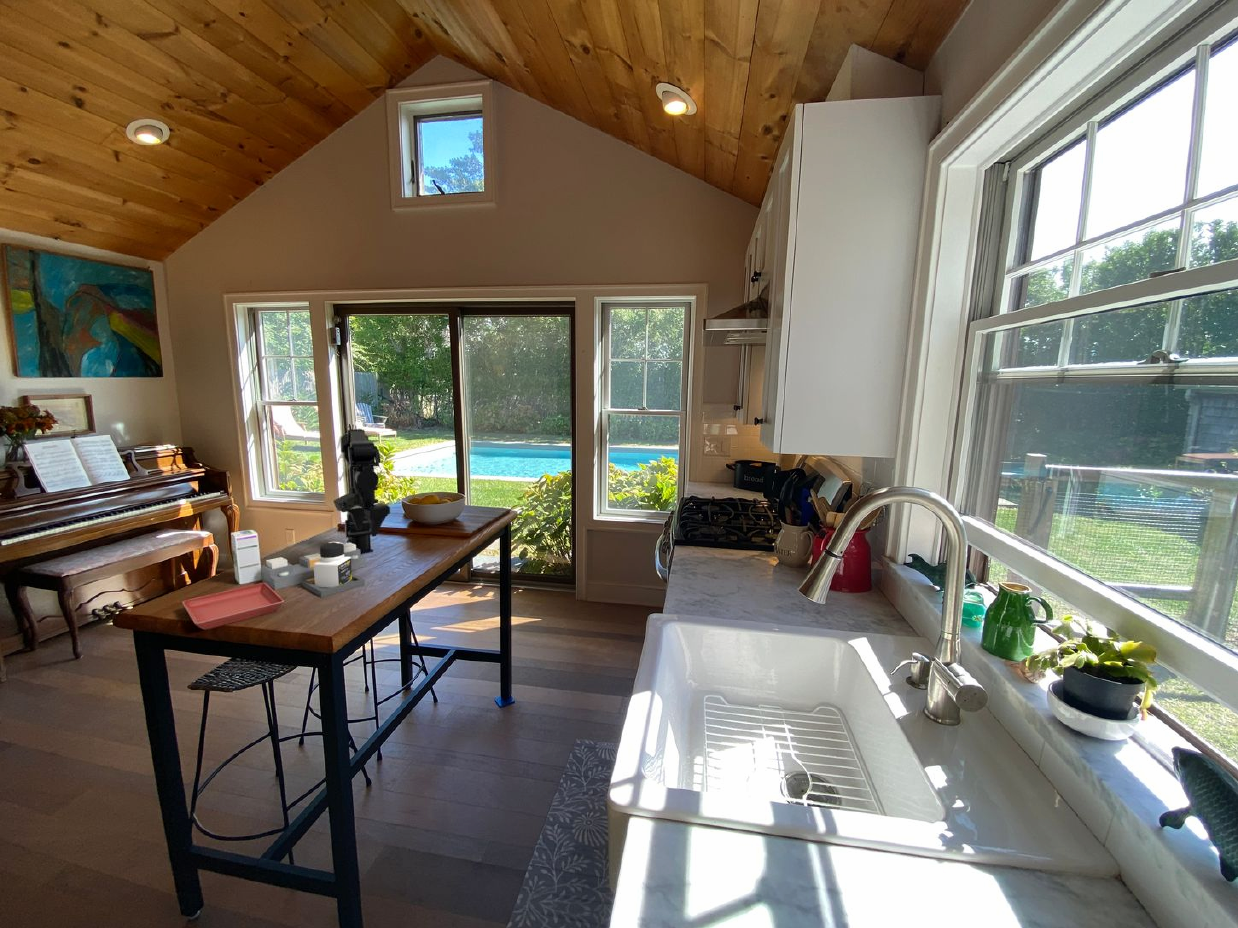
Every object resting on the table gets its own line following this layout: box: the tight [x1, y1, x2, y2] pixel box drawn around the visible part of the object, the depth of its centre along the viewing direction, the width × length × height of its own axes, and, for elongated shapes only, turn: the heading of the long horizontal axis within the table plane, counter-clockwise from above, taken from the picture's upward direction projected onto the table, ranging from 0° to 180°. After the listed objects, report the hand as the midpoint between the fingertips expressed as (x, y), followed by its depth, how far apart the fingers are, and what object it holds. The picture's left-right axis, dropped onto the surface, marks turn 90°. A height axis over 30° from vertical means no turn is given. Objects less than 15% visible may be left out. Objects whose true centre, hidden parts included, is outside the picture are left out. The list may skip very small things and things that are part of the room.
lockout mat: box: [301, 573, 366, 598], centre depth 150 cm, size 12×12×2 cm
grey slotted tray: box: [261, 548, 367, 591], centre depth 159 cm, size 26×9×5 cm, turn 143°
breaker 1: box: [265, 556, 288, 569], centre depth 152 cm, size 4×4×2 cm
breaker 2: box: [343, 542, 356, 553], centre depth 167 cm, size 4×4×2 cm
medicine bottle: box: [314, 541, 353, 588], centre depth 150 cm, size 7×7×12 cm
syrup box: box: [230, 529, 263, 585], centre depth 152 cm, size 6×6×14 cm
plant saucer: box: [181, 582, 285, 631], centre depth 132 cm, size 18×18×3 cm
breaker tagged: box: [303, 552, 320, 561], centre depth 160 cm, size 4×4×2 cm
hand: (366, 533), depth 160 cm, fingers open, 9 cm apart
